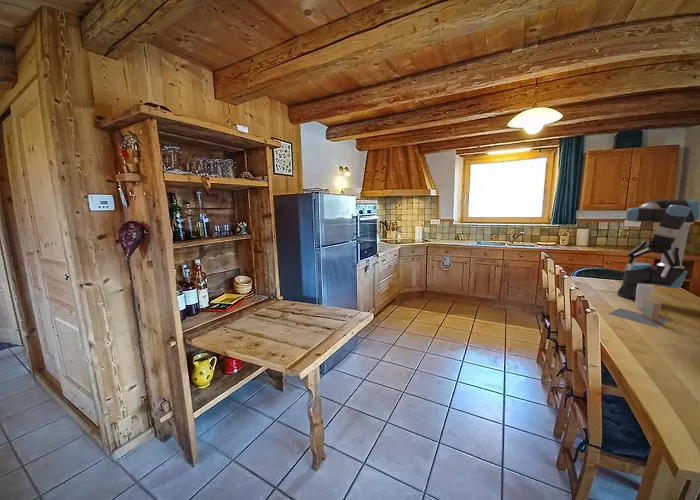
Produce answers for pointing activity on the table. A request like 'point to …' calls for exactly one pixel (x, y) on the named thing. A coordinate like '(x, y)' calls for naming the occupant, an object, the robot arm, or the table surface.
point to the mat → (637, 317)
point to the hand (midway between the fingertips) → (645, 273)
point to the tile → (651, 310)
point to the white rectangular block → (643, 294)
